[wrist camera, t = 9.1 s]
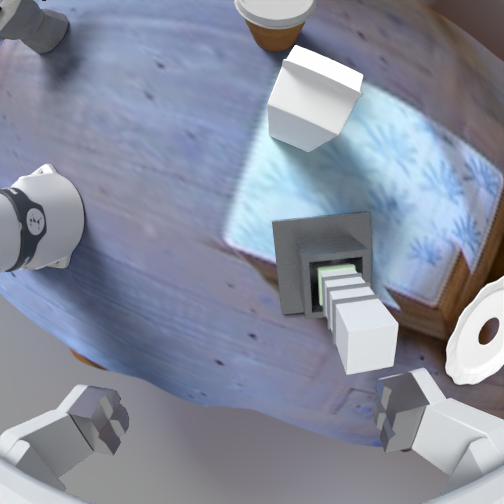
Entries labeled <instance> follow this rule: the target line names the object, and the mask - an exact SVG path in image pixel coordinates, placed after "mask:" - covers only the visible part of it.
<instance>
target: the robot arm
mask: <svg viewBox="0 0 504 504" xmlns="http://www.w3.org/2000/svg"><path fill="white" fill-rule="evenodd" d="M83 228H84V211H83V205H82V201H81V198H80V196H79V194H78V192H77V190H76V188H75V187H74V185H73V184H72V183H71V182H70V181H69V180H68V179H66V178H64V177H63V176H61V175H59V174H58V173H57V171H56V170H55V168H54V167H53V166H52V165H51V164H45V165H43V166H42V167H40V168H39V169H37V170H36V171H35V172H33V173H32V174H31V175H29V176H23V177H20V178H19V180H18V181H16V182H15V183H14V184H13V185H12V186H11V187H10V188H1V189H0V273H2V272H4V271H5V272H11V271H13V270H18V269H20V270H24V269H28V268H29V270H34V269H36V270H37V269H40V268H43V267H45V266H49V267H55V268H66V267H67V266H68V265H69V262H70V258H71V254H72V252H73V250H74V249H75V248H76V246H77V245H78V243H79V241H80V239H81V236H82V233H83ZM58 261H59V262H58ZM375 389H376V392H377V394H378V395H377V397H376V398H375V399H374V402H373V417H374V422H375V425H376V428H378V429H380V430H381V435H380V440H381V443H382V446H383V448H384V451H385V453H389V452H394V451H398V450H402V449H406V448H410V447H412V449H413V450H414V451H416V452H417V453H419V454H420V455H421V456H423V457H424V458H425V459H427V460H428V461H429V462H431V463H432V464H434V465H435V466H436V467H438V468H439V469H441V470H442V471H443V472H445V473H447V474H448V475H449V476H451V477H450V478H449V480H448V481H447V483H446V484H445V486H444V487H443V488H442V490H441V492H440V494H441V496H440V497H438V498H435V499H432V500H430V501H427V502H424V503H421V504H504V420H503V419H500V418H497V417H495V416H492V415H490V414H487V413H485V412H482V411H480V410H478V409H475V408H473V407H470V406H468V405H466V404H463V403H461V402H458V401H456V400H454V399H451V398H450V399H446V398H445V396H444V395H443V393H442V392H441V390H440V389H439V387H438V386H437V384H436V383H435V382H434V380H433V379H432V377H431V376H430V374H429V373H428V371H427V370H426V369H425V368H420V369H417V370H413V371H409V372H406V373H402V374H398V375H393V376H389V377H384V378H379V379H378V380H377V382H376V388H375ZM120 400H121V398H120V396H119V395H118V392H117V391H115V390H113V389H107V388H100V387H95V386H87V385H82V384H79V385H76V386H75V388H74V389H73V390H72V391H71V392H70V394H69V395H68V396H67V397H66V398H65V399H64V401H63V402H62V403H61V404H60V406H59V407H58V408H57V409H56V410H51V411H49V412H47V413H44V414H42V415H40V416H38V417H36V418H33V419H31V420H29V421H27V422H24V423H22V424H20V425H18V426H15V427H13V428H11V429H8V430H6V431H5V432H4V433H3V434H2V435H1V436H0V504H95V503H92V502H90V501H87V500H84V499H81V498H79V497H76V496H74V495H71V494H69V493H67V492H65V490H66V487H65V485H64V484H63V483H62V482H61V481H60V480H59V479H58V478H59V477H60V476H62V475H63V474H65V473H66V472H67V471H69V470H70V469H72V468H73V467H74V466H76V465H77V464H78V463H80V462H81V461H83V460H84V459H85V458H87V457H88V456H90V455H91V454H92V453H93V451H94V452H99V453H103V454H108V455H113V456H114V454H115V452H116V450H117V448H118V447H119V445H120V443H121V442H120V438H119V437H120V436H122V435H124V434H125V433H126V431H127V429H128V426H129V416H128V413H127V411H126V409H125V408H124V407H123V406H122V405H121V404H120V403H119V402H120Z"/></svg>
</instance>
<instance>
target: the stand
mask: <svg viewBox="0 0 504 504" xmlns="http://www.w3.org/2000/svg"><path fill="white" fill-rule="evenodd" d="M272 226H273V235H274V244H275V253H276V263H277V273H278V283H279V293H280V303H281V314H292V313H301V312H304V313H305V318H306V319H313V318H322V317H326V316H324V315H323V306H322V305H321V306H320V304H319V286H318V266H326V265H335V264H344V263H350V264H351V265H353V264H354V266H355V270H356V272H357V273H361V274H362V279H363V280H364V281H365V283H368V282H369V283H370V284H371V287H372V252H371V221H370V212H359V213H348V214H336V215H325V216H315V217H305V218H294V219H285V220H275V221H272Z"/></svg>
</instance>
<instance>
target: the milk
mask: <svg viewBox="0 0 504 504" xmlns="http://www.w3.org/2000/svg"><path fill="white" fill-rule="evenodd" d="M362 79H363V75H362V74H361V73H359V72H357V71H355V70H353V69H351V68H349V67H346V66H344V65H342V64H340V63H338V62H336V61H334V60H331V59H329V58H327V57H324V56H322V55H320V54H317V53H315V52H312V51H310V50H307V49H305V48H302V47H300V46H297V45H295V46H294V47H293V49H292V51H291V52H290V54H289V56H288V57H287V59H284V60H283V63H282V68H281V70H280V73H279V76H278V78H277V81H276V83H275V86H274V88H273V91H272V93H271V96H270V99H269V101H268V121H269V136H271V137H273V138H276V139H278V140H280V141H283V142H285V143H288V144H290V145H292V146H294V147H297V148H299V149H301V150H304V151H306V152H308V153H309V152H311V151H312V150H314V149H316V148H317V147H319V146H321V145H322V144H324V143H326V142H328V141H329V140H331V139H333V138H335V137H336V136H338V135H339V134H340V132H341V131H342V129H343V127H344V125H345V123H346V121H347V119H348V117H349V115H350V113H351V111H352V109H353V107H354V106H355V104H356V102H357V100H358V99H359V98H360V97H361V96H362V93H361V92H360V88H361V84H362Z"/></svg>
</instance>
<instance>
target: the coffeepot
mask: <svg viewBox="0 0 504 504" xmlns="http://www.w3.org/2000/svg"><path fill="white" fill-rule="evenodd" d="M42 1H46V0H42ZM68 24H69V22H68V20H67V18H66V17H65V15H64V14H61V13H57V12H54V11H50V10H47V9H40V8H39V6H38V4H37V3H36V2H34V1H33V0H3V1H2V3H1V4H0V41H1V40H4V39H11V40H16V39H20V40H21V41H22V42H23V43H24V44H26V45H27V46H28V47H30V48H31V49H32V50H34V51H35V52H37V53H38V54H40V53H46V52H49V51H51V50H52V49H53V48H55V47H56V46H57V45H58V44H59V42H60V41H61V40H62V39H63V37H64V35H65V33H66V31H67V28H68Z"/></svg>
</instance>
